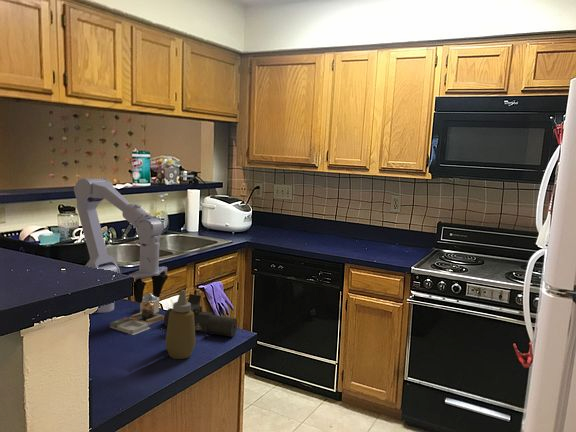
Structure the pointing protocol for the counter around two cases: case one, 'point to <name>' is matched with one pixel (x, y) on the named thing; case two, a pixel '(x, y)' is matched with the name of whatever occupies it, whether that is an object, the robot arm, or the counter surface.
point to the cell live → (147, 310)
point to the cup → (156, 304)
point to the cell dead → (149, 297)
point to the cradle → (129, 326)
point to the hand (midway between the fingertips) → (147, 299)
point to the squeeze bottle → (180, 329)
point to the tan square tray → (148, 321)
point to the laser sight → (208, 319)
